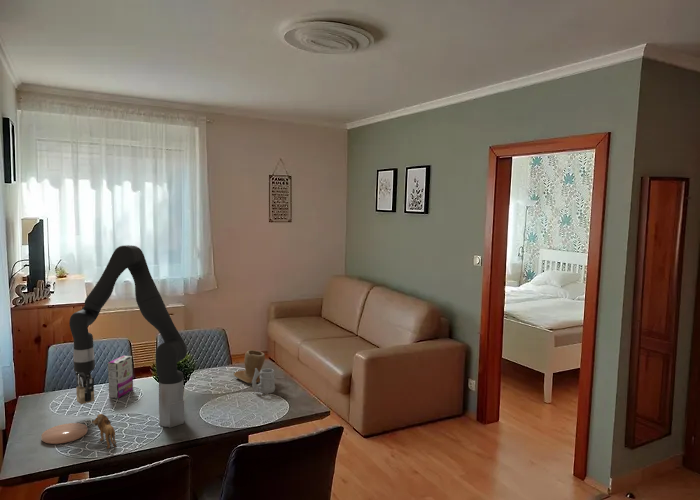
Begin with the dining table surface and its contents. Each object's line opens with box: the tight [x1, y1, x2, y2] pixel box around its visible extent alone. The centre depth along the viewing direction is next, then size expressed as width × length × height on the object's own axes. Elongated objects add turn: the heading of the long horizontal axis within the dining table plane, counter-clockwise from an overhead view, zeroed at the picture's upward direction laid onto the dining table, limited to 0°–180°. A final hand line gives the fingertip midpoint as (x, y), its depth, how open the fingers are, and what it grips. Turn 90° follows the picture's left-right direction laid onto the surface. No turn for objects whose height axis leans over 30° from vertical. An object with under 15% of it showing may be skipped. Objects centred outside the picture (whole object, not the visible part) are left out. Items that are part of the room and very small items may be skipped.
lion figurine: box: [91, 413, 118, 450], centre depth 183 cm, size 15×5×9 cm, turn 51°
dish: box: [40, 422, 88, 445], centre depth 187 cm, size 15×15×2 cm
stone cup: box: [233, 349, 266, 384], centre depth 251 cm, size 15×12×15 cm
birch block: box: [75, 386, 95, 405], centre depth 205 cm, size 5×5×6 cm
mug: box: [251, 367, 276, 394], centre depth 236 cm, size 8×12×12 cm, turn 129°
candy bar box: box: [107, 355, 134, 399], centre depth 229 cm, size 11×5×16 cm, turn 168°
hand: (85, 399), depth 205 cm, fingers closed on birch block, 5 cm apart
